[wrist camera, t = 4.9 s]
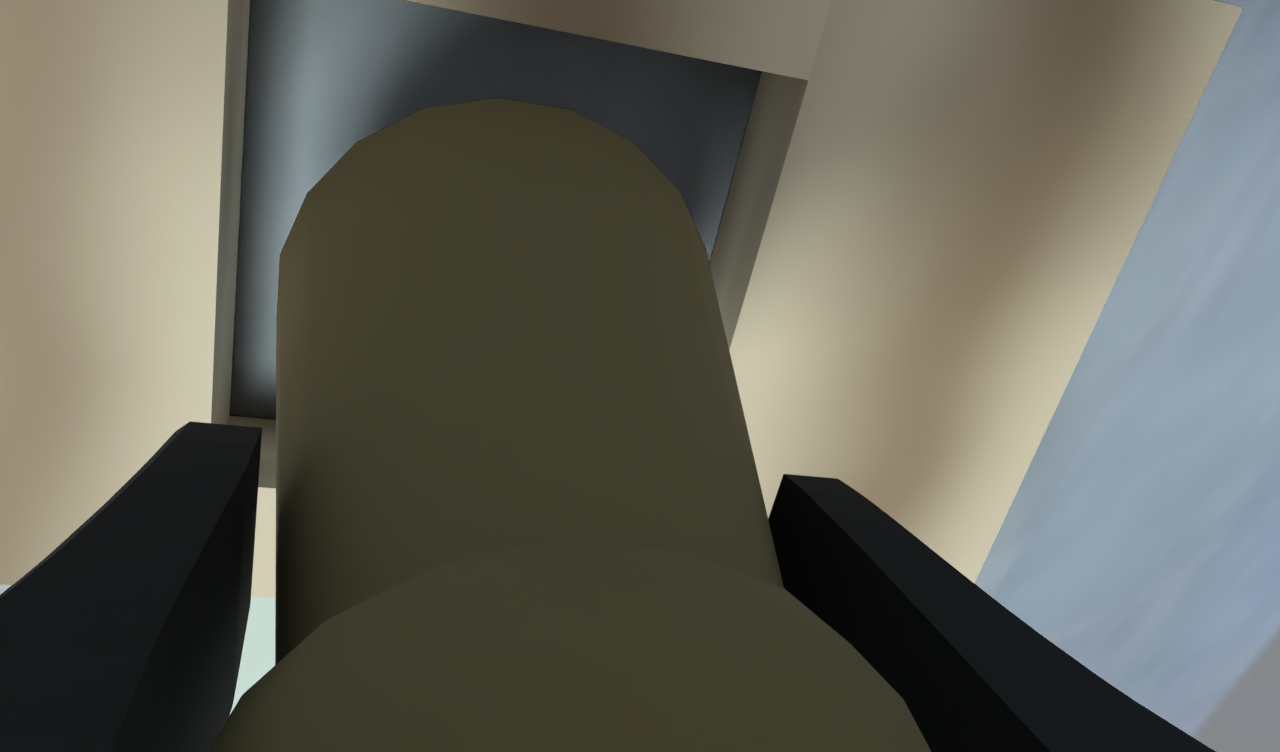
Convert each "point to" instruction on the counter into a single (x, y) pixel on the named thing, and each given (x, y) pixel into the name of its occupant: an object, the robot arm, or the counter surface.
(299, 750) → the cork
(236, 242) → the socket board
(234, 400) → the counter surface
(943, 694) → the robot arm
